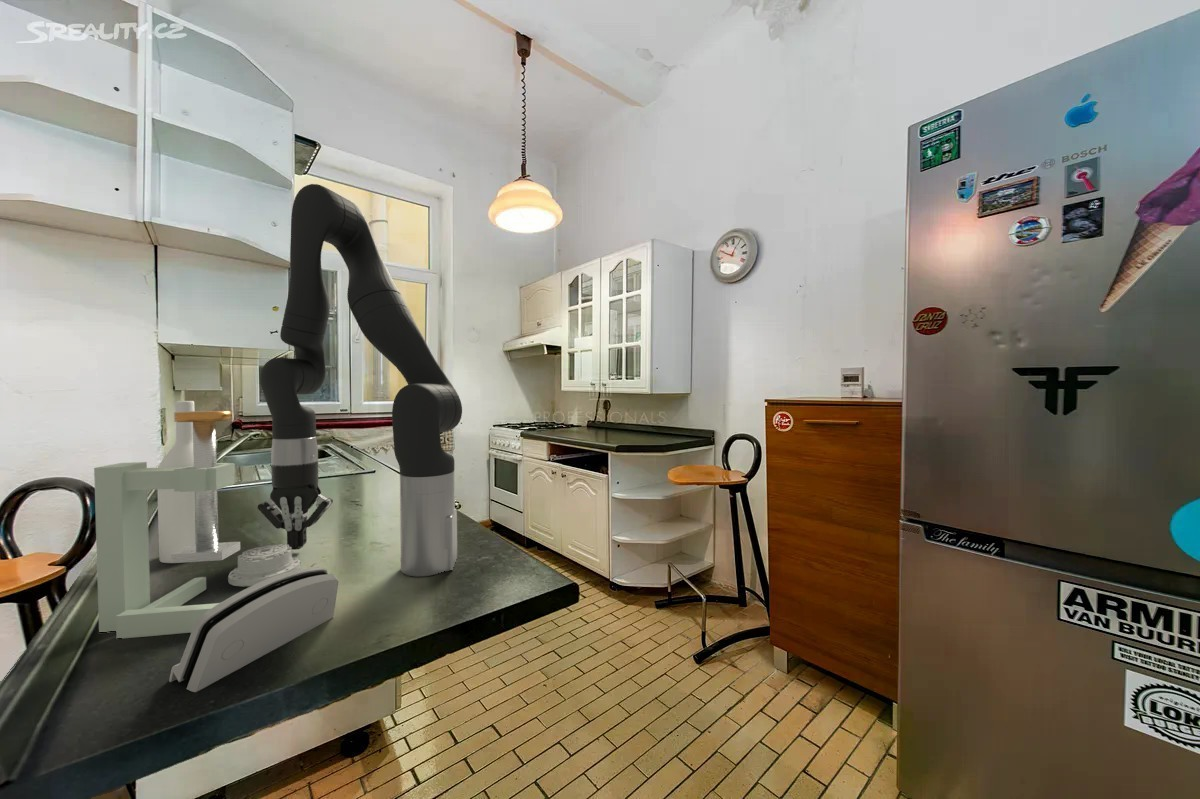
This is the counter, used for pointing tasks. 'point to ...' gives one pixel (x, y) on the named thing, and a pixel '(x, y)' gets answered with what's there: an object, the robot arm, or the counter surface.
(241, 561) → the mechanical component
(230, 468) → the frame
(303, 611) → the grey curved housing
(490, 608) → the counter surface
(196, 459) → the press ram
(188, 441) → the bottle
